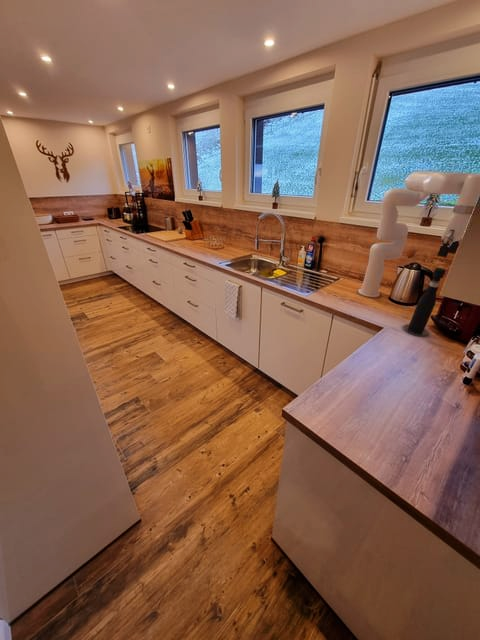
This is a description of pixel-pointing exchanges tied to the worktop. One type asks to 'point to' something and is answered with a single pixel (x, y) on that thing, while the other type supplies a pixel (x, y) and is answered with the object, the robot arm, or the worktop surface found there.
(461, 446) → the worktop surface
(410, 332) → the slate coaster
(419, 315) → the black bottle
